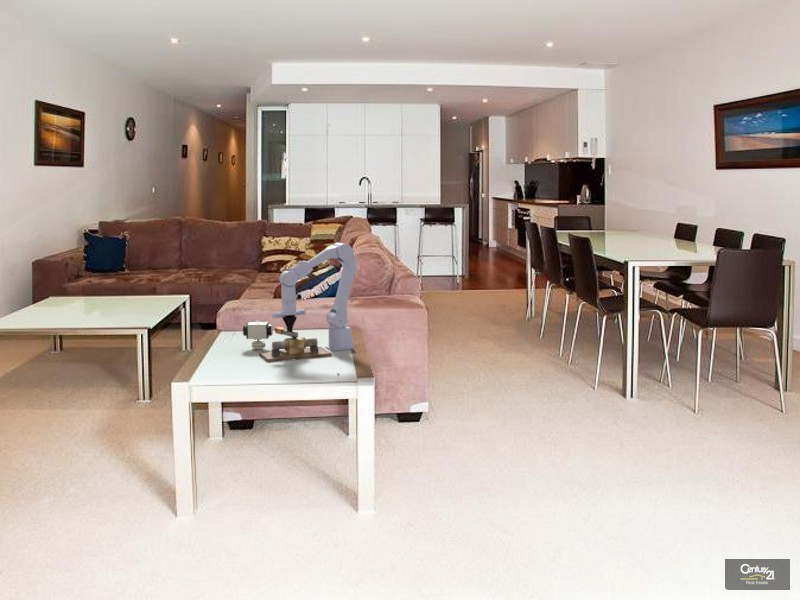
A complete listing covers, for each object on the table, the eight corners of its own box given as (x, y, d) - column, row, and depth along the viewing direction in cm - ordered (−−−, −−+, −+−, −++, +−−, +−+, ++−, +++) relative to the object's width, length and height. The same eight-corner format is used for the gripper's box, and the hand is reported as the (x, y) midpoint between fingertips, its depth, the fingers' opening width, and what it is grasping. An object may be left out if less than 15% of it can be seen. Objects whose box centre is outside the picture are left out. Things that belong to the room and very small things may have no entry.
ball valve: (320, 349, 334) (320, 332, 333) (331, 356, 321) (331, 337, 320) (259, 355, 323) (258, 337, 322) (267, 362, 311) (267, 343, 310)
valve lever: (299, 337, 321) (299, 332, 321) (293, 338, 319) (293, 333, 319) (280, 332, 333) (280, 326, 332) (274, 332, 331) (274, 327, 331)
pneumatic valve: (271, 349, 334) (270, 321, 332) (243, 350, 334) (242, 321, 332) (273, 347, 339) (272, 319, 337) (246, 347, 339) (245, 319, 337)
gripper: (277, 303, 317) (278, 337, 319) (309, 300, 326) (310, 333, 328) (269, 301, 322) (270, 334, 324) (300, 298, 331) (301, 330, 333)
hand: (289, 333), depth 326 cm, fingers closed, pressing on valve lever
